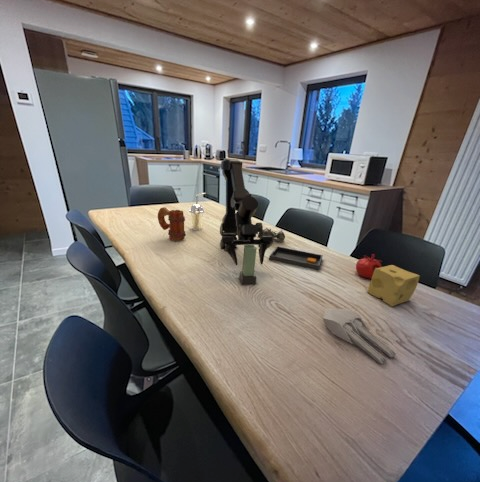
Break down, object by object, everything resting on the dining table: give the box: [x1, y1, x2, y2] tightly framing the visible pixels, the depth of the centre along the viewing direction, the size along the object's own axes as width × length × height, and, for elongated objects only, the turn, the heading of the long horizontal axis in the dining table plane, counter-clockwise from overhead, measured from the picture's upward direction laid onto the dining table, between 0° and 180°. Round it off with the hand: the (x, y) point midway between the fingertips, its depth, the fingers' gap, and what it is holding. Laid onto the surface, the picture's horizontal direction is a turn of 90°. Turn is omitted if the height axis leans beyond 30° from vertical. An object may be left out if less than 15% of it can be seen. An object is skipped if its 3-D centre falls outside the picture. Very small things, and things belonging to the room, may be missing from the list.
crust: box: [307, 257, 316, 264], centre depth 115 cm, size 4×4×2 cm
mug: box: [157, 206, 187, 242], centre depth 130 cm, size 15×8×15 cm, turn 71°
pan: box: [268, 246, 324, 271], centre depth 117 cm, size 21×13×3 cm, turn 68°
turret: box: [322, 307, 396, 365], centre depth 71 cm, size 10×20×5 cm, turn 33°
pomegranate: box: [355, 253, 383, 280], centre depth 107 cm, size 10×10×9 cm
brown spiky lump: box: [256, 227, 286, 243], centre depth 137 cm, size 12×11×15 cm
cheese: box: [367, 264, 421, 307], centre depth 92 cm, size 10×11×10 cm
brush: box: [238, 245, 257, 286], centre depth 94 cm, size 5×5×14 cm
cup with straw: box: [188, 192, 207, 231], centre depth 146 cm, size 8×9×20 cm
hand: (249, 264), depth 93 cm, fingers open, 9 cm apart
